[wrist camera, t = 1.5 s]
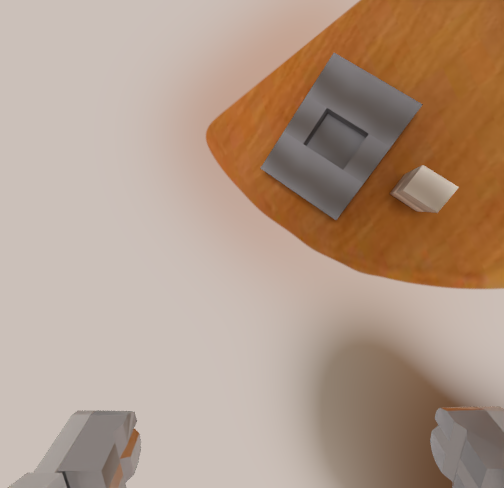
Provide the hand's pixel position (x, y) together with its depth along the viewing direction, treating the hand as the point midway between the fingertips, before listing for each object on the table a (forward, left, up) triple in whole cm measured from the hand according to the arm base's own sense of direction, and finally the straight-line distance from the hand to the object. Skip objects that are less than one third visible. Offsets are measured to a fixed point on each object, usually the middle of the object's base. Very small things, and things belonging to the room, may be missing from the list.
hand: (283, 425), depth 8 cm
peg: (-12, +4, -36) cm, 38 cm away
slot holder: (-12, -8, -36) cm, 39 cm away
